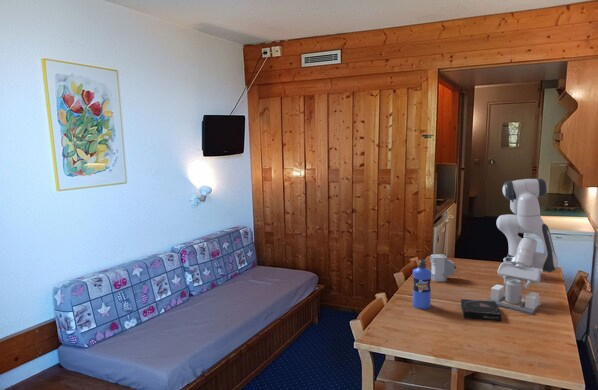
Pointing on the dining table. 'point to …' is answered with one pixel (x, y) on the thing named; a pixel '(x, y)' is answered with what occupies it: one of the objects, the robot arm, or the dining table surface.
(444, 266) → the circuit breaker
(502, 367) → the dining table surface
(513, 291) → the can
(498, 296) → the board
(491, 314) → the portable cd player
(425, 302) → the water bottle
